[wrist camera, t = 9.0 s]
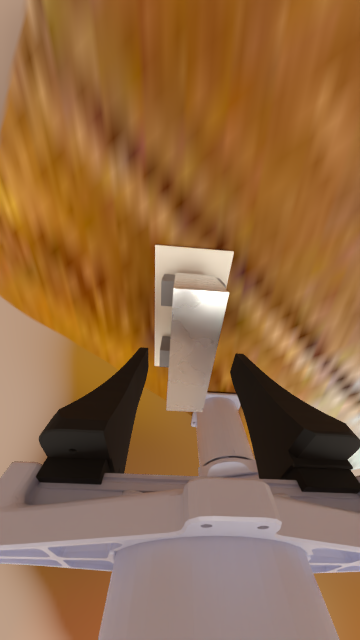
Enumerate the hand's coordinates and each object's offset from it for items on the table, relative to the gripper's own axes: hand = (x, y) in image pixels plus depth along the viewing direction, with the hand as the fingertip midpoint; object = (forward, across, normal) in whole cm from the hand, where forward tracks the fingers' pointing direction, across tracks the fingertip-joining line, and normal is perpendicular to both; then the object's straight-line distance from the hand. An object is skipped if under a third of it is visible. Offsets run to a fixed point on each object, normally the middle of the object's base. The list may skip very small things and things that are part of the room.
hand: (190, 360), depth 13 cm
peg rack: (+8, 0, 0) cm, 9 cm away
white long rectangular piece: (+4, 0, 0) cm, 5 cm away
